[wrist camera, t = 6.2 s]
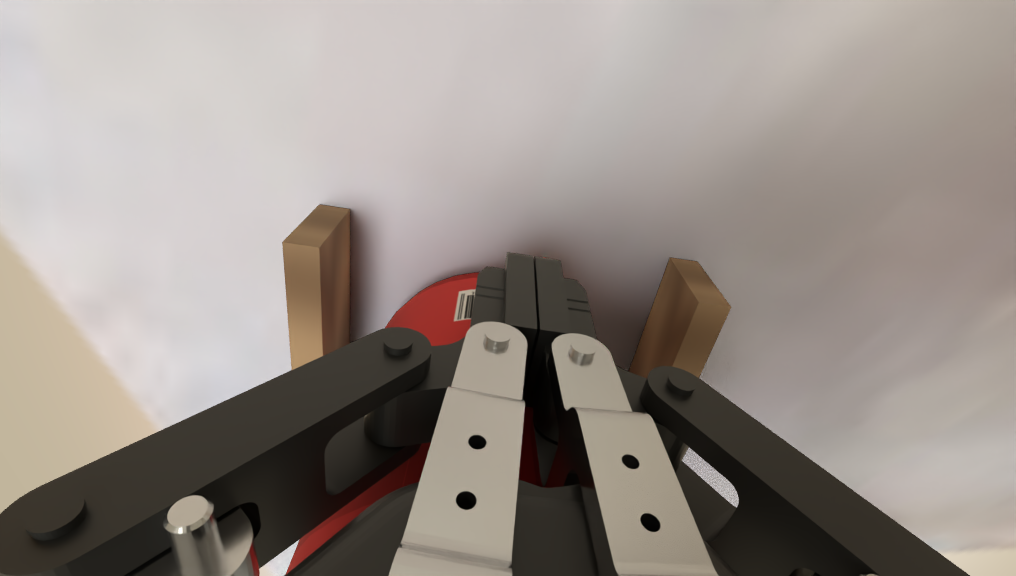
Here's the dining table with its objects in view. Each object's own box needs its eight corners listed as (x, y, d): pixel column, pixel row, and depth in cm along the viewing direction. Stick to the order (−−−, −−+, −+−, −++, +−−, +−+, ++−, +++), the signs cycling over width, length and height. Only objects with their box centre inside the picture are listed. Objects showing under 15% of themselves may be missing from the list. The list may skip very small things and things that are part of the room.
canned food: (341, 326, 18) (159, 666, 9) (523, 224, 16) (540, 525, 7) (456, 448, 22) (412, 794, 12) (620, 376, 20) (724, 725, 10)
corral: (319, 204, 16) (282, 242, 13) (697, 261, 17) (731, 306, 14) (328, 498, 23) (305, 560, 21) (592, 527, 24) (602, 588, 22)
